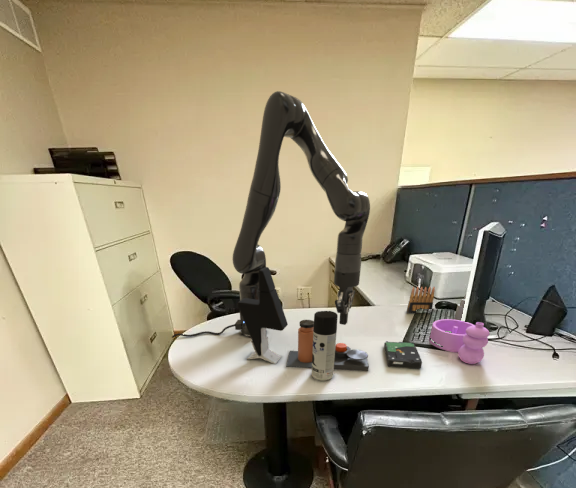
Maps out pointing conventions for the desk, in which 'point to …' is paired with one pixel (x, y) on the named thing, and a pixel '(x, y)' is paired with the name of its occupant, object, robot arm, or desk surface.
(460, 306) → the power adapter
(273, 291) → the award
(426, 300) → the ammunition clip
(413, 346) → the disk drive
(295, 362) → the plate
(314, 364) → the spray can
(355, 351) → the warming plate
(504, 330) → the desk surface
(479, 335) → the container set
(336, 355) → the grey base plate
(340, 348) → the power button
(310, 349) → the orange bottle
